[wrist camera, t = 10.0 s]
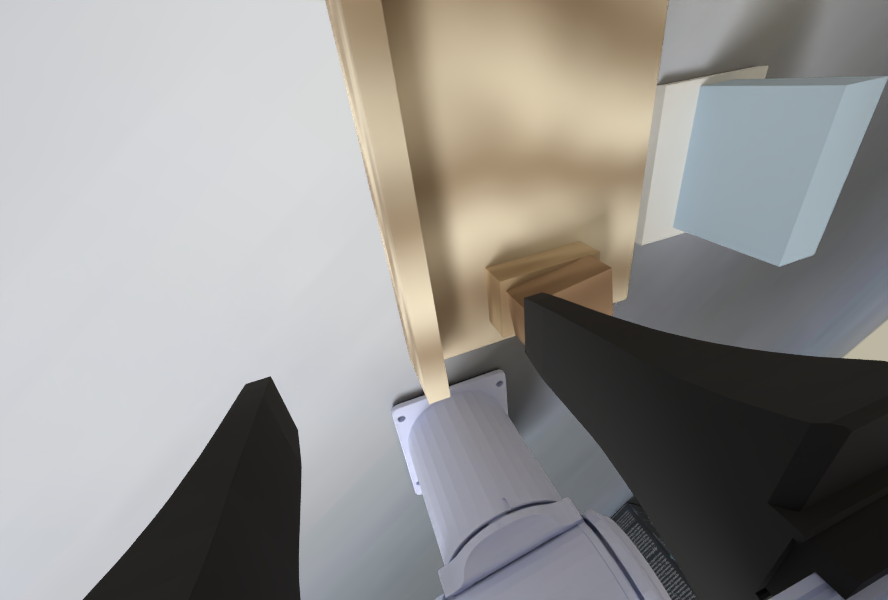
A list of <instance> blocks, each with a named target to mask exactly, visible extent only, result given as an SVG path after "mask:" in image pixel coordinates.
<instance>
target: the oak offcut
mask: <svg viewBox="0 0 888 600" xmlns="http://www.w3.org/2000/svg"><path fill="white" fill-rule="evenodd" d="M587 255H590V256H592V257H594V258H595V259H597V260H599V261H600V251H598V250H596V249H594V248H592V247H590V246H588V245H587V244H585V243H583V242H581V241H578V242H574V243H571V244H567V245H563V246H560V247H556V248H553V249H549V250H546V251H542V252H539V253H535V254H532V255H528V256H525V257H521V258H518V259H514V260H511V261H507V262H504V263H500V264H497V265H493V266H490V267H486V268H485V273H486V285H487V296H488V308H489V320H490V322H491V324H492V325H493V326H494V327H495V328H496V330H497V331H498V332H499V333H500V335H501V336H502V337H503V338H505V337H508V336H511V335H514V334H515V331H514V327H513V322H512V317H511V313H510V308H509V303H508V299H507V294H506V291H508V290H510V289H512V288H514V287H517V286H519V285H521V284H524V283H526V282H528V281H530V280H533V279H535V278H537V277H539V276H542V275H544V274H546V273H549V272H551V271H553V270H555V269H558V268H560V267H562V266H564V265H567V264H569V263H571V262H574V261H576V260H578V259H580V258H583V257H585V256H587Z"/></svg>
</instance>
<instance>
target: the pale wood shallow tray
mask: <svg viewBox="0 0 888 600" xmlns="http://www.w3.org/2000/svg"><path fill="white" fill-rule="evenodd" d="M668 2H669V0H326V5H327V9H328V13H329V17H330V22H331V26H332V30H333V34H334V39H335V43H336V47H337V51H338V55H339V60H340V64H341V68H342V72H343V77H344V81H345V85H346V89H347V93H348V98H349V102H350V106H351V110H352V115H353V119H354V123H355V127H356V132H357V136H358V140H359V144H360V148H361V153H362V157H363V161H364V165H365V170H366V174H367V178H368V182H369V187H370V191H371V195H372V199H373V203H374V208H375V212H376V216H377V220H378V225H379V229H380V233H381V237H382V242H383V246H384V250H385V254H386V258H387V263H388V267H389V271H390V275H391V280H392V284H393V288H394V292H395V296H396V301H397V305H398V309H399V313H400V318H401V322H402V326H403V330H404V335H405V339H406V343H407V347H408V351H409V356H410V360H411V362H412V364H413V367H414V369H415V372H416V374H417V376H418V379H419V381H420V383H421V386H422V388H423V391H424V393H425V395H426V398H427V400H428V403H429V404H432V403H434V402H437V401H440V400H443V399H446V398H449V397H451V396H450V391H449V385H448V379H447V374H446V368H445V362H444V359H447V358H450V357H453V356H456V355H459V354H462V353H465V352H468V351H471V350H474V349H477V348H480V347H483V346H486V345H489V344H492V343H495V342H498V341H501V340H504V339H507V338H510V337H513V336H516V335H515V334H514V335H511V336H508V337H505V338H503V337H502V336H501V335H500V333H499V332H498V331H497V330H496V328H495V327H494V326H493V325H492V324H491V322H490V320H489V308H488V296H487V285H486V273H485V268H486V267H490V266H493V265H497V264H500V263H504V262H507V261H511V260H514V259H518V258H521V257H525V256H528V255H532V254H535V253H539V252H542V251H546V250H549V249H553V248H556V247H560V246H563V245H567V244H571V243H574V242H578V241H581V242H583V243H585V244H587V245H588V246H590V247H592V248H594V249H596V250H598V251H600V261H601V262H602V263H604V264H606V265H608V266H609V267H611V268H612V290H613V303H616V302H619V301H622V300H625V299H627V293H628V286H629V279H630V272H631V265H632V257H633V250H634V243H635V236H636V229H637V222H638V215H639V208H640V201H641V194H642V187H643V179H644V172H645V165H646V158H647V151H648V144H649V137H650V130H651V123H652V116H653V109H654V101H655V94H656V87H657V80H658V73H659V66H660V59H661V52H662V45H663V38H664V30H665V23H666V16H667V9H668Z"/></svg>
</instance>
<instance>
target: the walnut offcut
mask: <svg viewBox="0 0 888 600" xmlns="http://www.w3.org/2000/svg"><path fill="white" fill-rule="evenodd" d="M541 292H543V293H547V294H550V295H553V296H556V297H559V298H562V299H565V300H568V301H570V302H573V303H576V304H579V305H581V306H584V307H587V308H590V309H593V310H595V311H598V312H601V313H604V314H607V315H610V316H612V315H613V290H612V268H611V267H609V266H608V265H606V264H604V263H602V262H601V261H599V260H597V259H595V258H594V257H592V256H590V255H587V256H585V257H583V258H580V259H578V260H576V261H574V262H571V263H569V264H567V265H564V266H562V267H560V268H558V269H555V270H553V271H551V272H549V273H546V274H544V275H542V276H539V277H537V278H535V279H533V280H530V281H528V282H526V283H524V284H521V285H519V286H517V287H514V288H512V289H510V290H508V291H506V294H507V299H508V303H509V308H510V313H511V317H512V322H513V327H514V331H515V335H516V336H517V337H518V338H519V339H520V340H521V342H522V343H523V344H524V345H525V326H524V298H525V297H528V296H531V295H535V294H538V293H541Z"/></svg>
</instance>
